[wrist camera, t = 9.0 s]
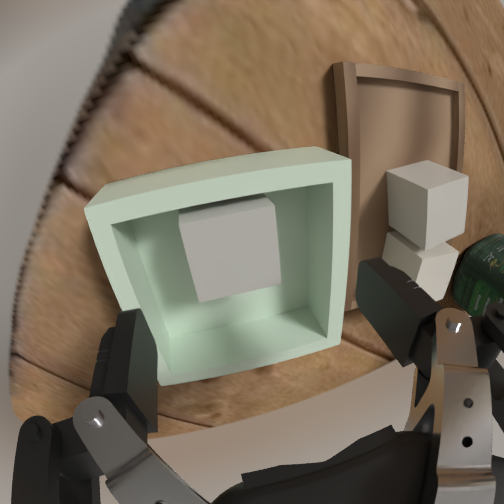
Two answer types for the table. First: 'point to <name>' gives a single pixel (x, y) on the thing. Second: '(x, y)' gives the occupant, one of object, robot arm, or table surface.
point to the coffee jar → (481, 276)
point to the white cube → (421, 263)
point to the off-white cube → (231, 246)
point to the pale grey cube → (427, 202)
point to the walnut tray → (390, 142)
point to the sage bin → (240, 305)
